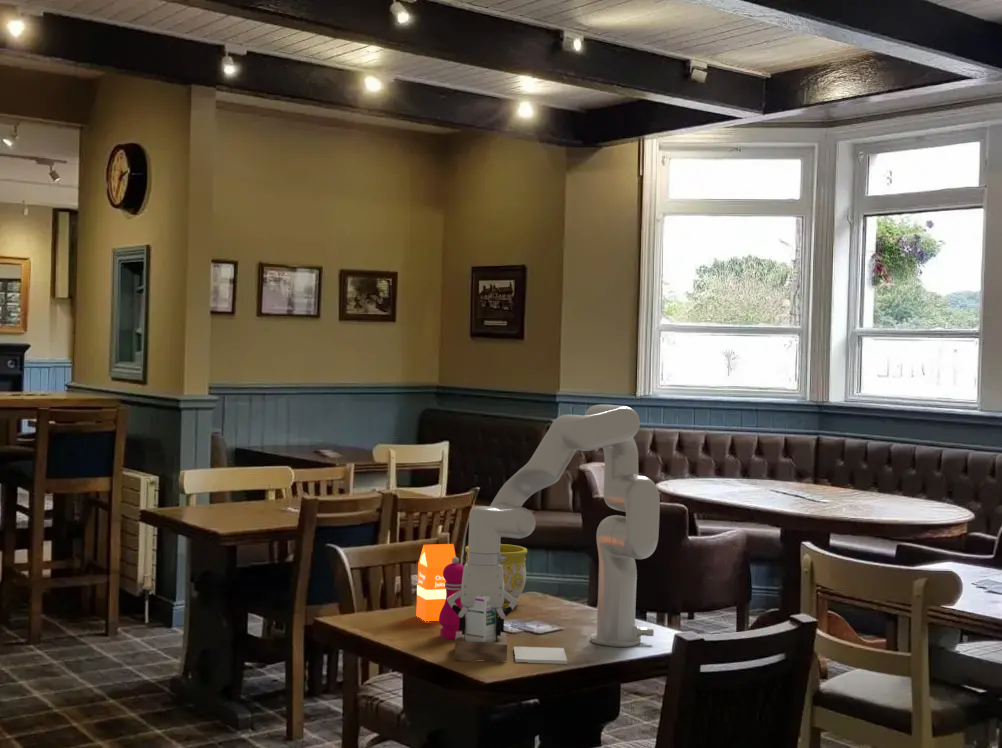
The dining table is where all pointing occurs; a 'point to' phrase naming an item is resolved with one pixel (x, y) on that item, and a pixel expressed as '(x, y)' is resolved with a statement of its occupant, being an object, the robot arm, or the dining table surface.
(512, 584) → the flowerpot
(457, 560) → the pepper mill
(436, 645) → the dining table surface
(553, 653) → the plate
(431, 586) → the orange juice
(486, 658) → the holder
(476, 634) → the syrup box
